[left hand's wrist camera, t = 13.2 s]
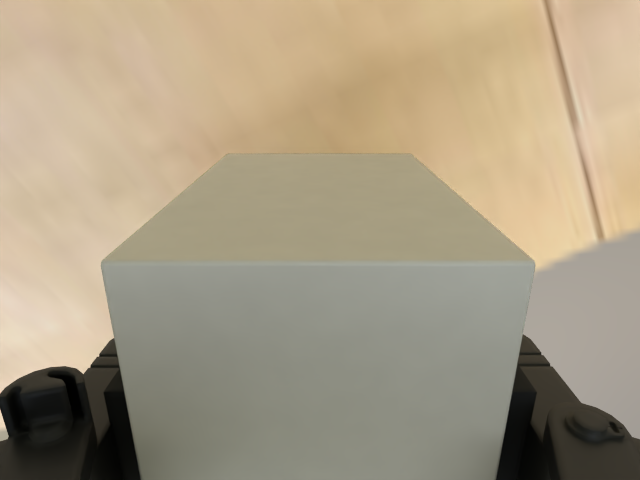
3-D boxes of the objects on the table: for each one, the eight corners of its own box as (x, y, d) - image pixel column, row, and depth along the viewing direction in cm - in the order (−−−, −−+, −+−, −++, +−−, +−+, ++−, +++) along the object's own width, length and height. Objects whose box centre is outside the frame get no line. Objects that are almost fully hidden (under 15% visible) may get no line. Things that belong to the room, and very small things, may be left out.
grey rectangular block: (242, 368, 18) (169, 641, 9) (226, 153, 15) (97, 260, 6) (396, 368, 18) (467, 642, 9) (411, 153, 15) (539, 261, 6)
